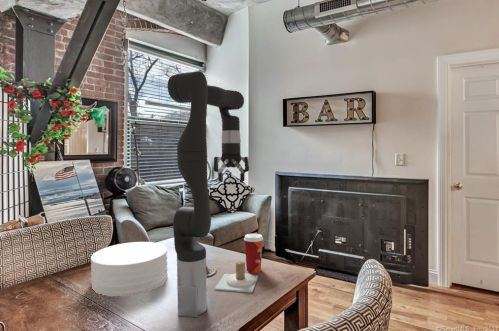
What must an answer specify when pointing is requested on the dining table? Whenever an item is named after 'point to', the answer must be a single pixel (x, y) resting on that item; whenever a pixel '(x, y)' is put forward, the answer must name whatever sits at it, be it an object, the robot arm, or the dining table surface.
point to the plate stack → (129, 268)
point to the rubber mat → (225, 287)
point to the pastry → (209, 270)
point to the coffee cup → (253, 252)
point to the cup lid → (240, 277)
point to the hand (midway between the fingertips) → (231, 182)
